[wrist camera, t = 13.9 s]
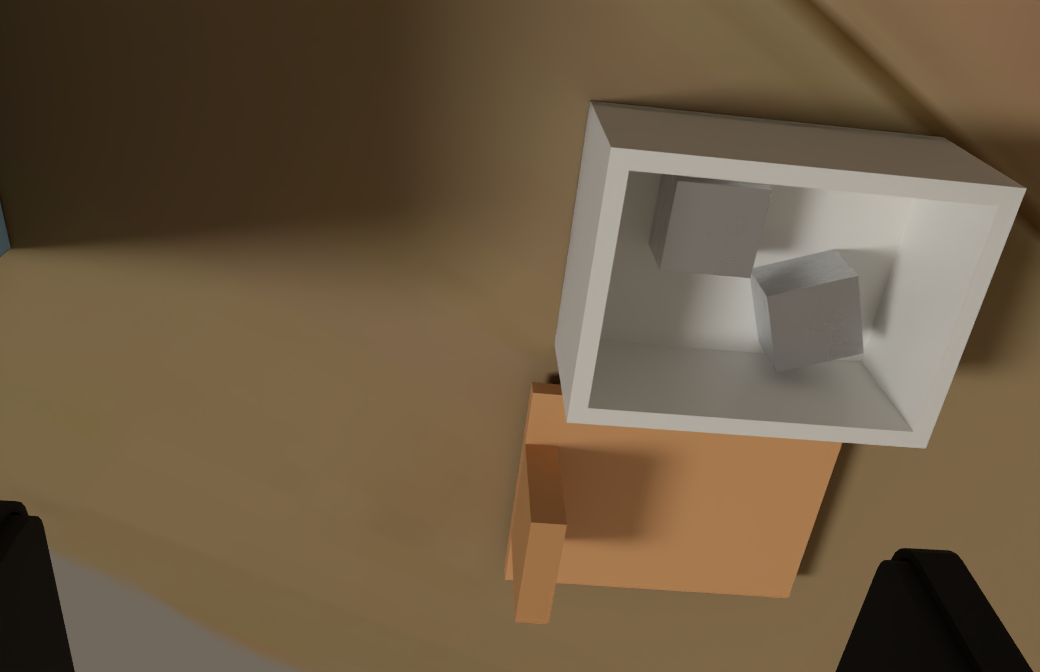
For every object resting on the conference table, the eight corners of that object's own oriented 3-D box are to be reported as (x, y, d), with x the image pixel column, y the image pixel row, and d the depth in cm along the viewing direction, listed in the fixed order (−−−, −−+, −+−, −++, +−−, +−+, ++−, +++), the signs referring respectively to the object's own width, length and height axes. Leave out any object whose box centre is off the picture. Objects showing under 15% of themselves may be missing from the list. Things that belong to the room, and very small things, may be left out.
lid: (530, 369, 46) (539, 467, 38) (835, 396, 47) (899, 494, 40) (503, 552, 51) (507, 667, 44) (776, 570, 53) (823, 684, 46)
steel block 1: (664, 158, 40) (677, 180, 37) (753, 167, 40) (772, 189, 37) (648, 243, 41) (659, 270, 39) (733, 251, 42) (750, 278, 39)
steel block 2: (748, 268, 42) (766, 296, 40) (834, 248, 42) (858, 275, 39) (758, 341, 44) (776, 372, 42) (840, 322, 44) (863, 353, 41)
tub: (590, 100, 39) (611, 147, 33) (943, 137, 40) (1026, 188, 34) (554, 343, 45) (566, 422, 38) (865, 368, 46) (925, 448, 40)
